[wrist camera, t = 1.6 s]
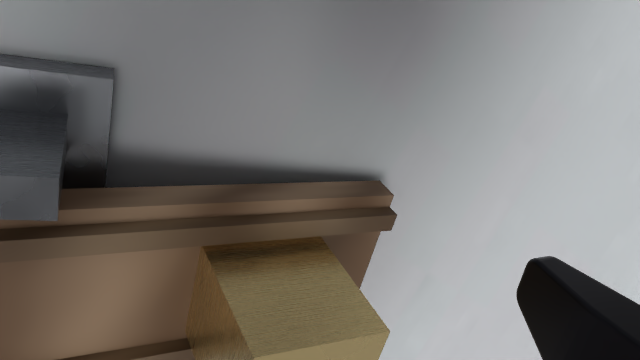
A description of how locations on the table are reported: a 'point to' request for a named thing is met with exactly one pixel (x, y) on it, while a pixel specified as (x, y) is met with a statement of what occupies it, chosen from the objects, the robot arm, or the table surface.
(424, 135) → the table surface
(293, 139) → the table surface
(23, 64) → the stand
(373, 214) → the balance beam
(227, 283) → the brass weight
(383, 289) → the table surface
